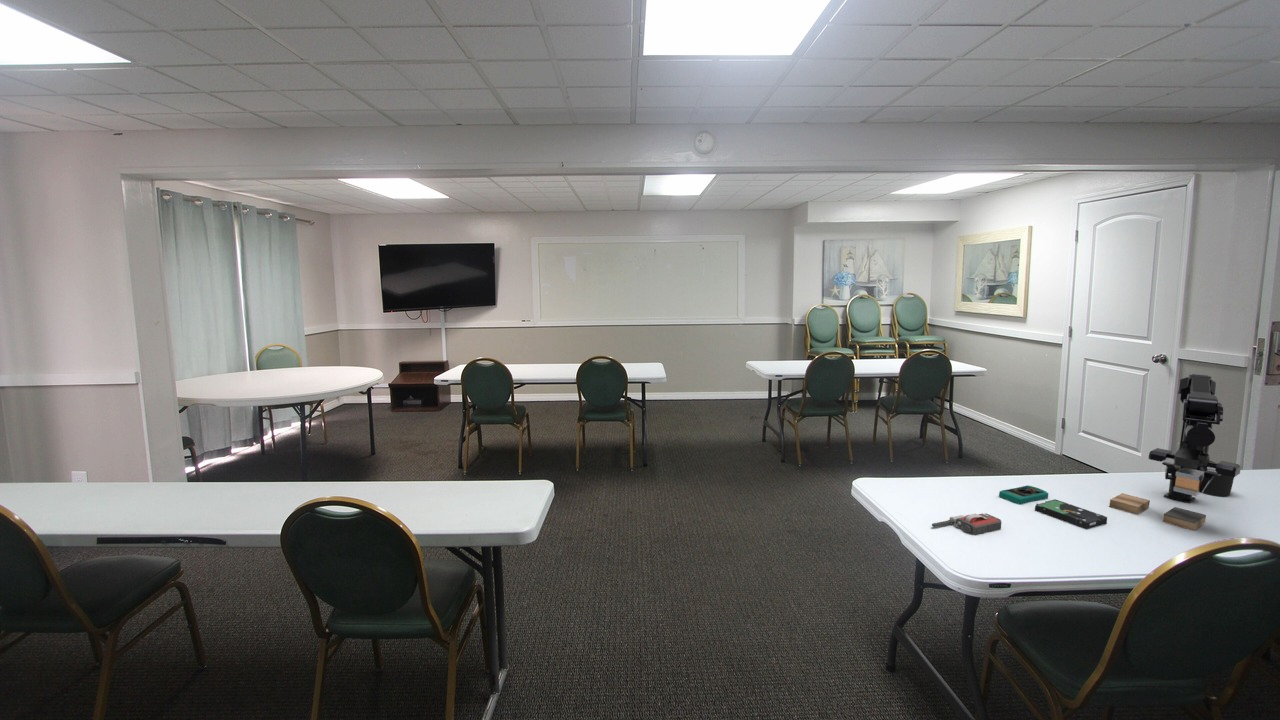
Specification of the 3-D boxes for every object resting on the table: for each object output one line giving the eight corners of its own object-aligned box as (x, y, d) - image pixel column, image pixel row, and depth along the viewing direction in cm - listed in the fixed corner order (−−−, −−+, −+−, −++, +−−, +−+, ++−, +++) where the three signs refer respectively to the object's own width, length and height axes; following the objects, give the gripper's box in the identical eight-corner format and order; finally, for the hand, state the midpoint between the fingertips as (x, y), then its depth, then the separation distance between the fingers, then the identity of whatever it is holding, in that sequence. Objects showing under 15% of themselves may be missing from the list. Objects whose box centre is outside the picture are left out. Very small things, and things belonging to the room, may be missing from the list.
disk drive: (1106, 525, 166) (1053, 506, 180) (1108, 516, 166) (1054, 498, 179) (1086, 531, 162) (1033, 511, 176) (1087, 522, 162) (1034, 503, 175)
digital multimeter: (1049, 499, 185) (1050, 491, 185) (1019, 506, 180) (1020, 497, 179) (1027, 492, 192) (1028, 483, 192) (997, 498, 187) (998, 489, 186)
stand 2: (1173, 514, 173) (1175, 506, 172) (1205, 522, 167) (1206, 514, 167) (1162, 521, 168) (1163, 513, 167) (1194, 530, 162) (1195, 522, 161)
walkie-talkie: (978, 518, 171) (929, 528, 164) (979, 504, 170) (930, 514, 163) (1005, 530, 162) (955, 541, 156) (1007, 515, 162) (956, 526, 155)
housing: (1181, 486, 170) (1183, 467, 169) (1203, 491, 166) (1206, 472, 165) (1173, 490, 166) (1176, 471, 165) (1196, 496, 162) (1199, 476, 161)
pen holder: (1217, 488, 195) (1222, 461, 193) (1239, 498, 186) (1244, 469, 184) (1185, 486, 197) (1189, 458, 195) (1205, 496, 188) (1210, 467, 186)
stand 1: (1121, 500, 184) (1122, 493, 183) (1148, 507, 178) (1149, 500, 177) (1109, 506, 178) (1110, 499, 178) (1137, 514, 173) (1138, 506, 172)
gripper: (1145, 435, 167) (1138, 484, 169) (1233, 451, 151) (1224, 506, 154) (1158, 430, 173) (1151, 477, 175) (1245, 445, 157) (1236, 497, 160)
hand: (1188, 489), depth 166 cm, fingers closed on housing, 5 cm apart
